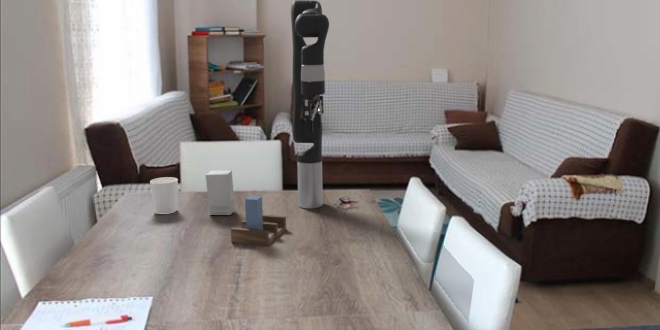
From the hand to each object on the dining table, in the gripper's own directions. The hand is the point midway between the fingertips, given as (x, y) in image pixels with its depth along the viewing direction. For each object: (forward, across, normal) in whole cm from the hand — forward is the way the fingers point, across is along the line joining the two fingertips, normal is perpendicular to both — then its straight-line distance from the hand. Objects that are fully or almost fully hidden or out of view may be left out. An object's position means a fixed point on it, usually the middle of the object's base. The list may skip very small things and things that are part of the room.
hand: (313, 130), depth 190 cm
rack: (+33, +12, -15) cm, 38 cm away
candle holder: (+33, -4, -59) cm, 68 cm away
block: (+31, +16, -15) cm, 38 cm away
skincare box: (+33, -7, -38) cm, 51 cm away
